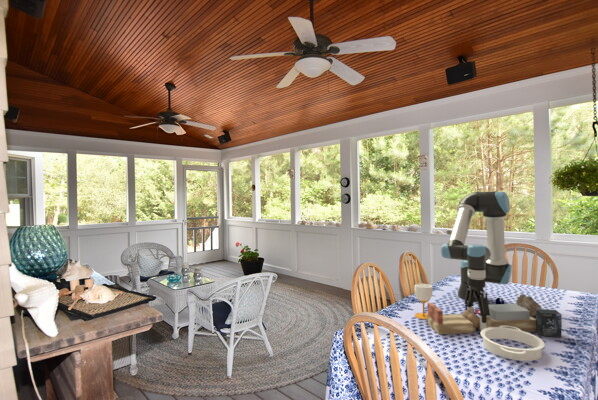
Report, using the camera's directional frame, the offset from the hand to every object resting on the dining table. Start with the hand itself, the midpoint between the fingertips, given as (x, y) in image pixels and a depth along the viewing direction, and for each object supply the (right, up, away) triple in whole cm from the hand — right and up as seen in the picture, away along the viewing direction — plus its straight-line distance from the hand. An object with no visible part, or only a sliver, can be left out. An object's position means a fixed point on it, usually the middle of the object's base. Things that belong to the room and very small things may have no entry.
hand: (476, 324), depth 161 cm
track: (+2, -1, 0) cm, 3 cm away
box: (+27, -1, -9) cm, 29 cm away
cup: (-19, -2, +16) cm, 25 cm away
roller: (0, +1, 0) cm, 1 cm away
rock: (+35, -1, +15) cm, 38 cm away
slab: (+14, +4, 0) cm, 15 cm away
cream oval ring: (+3, -2, -22) cm, 22 cm away
